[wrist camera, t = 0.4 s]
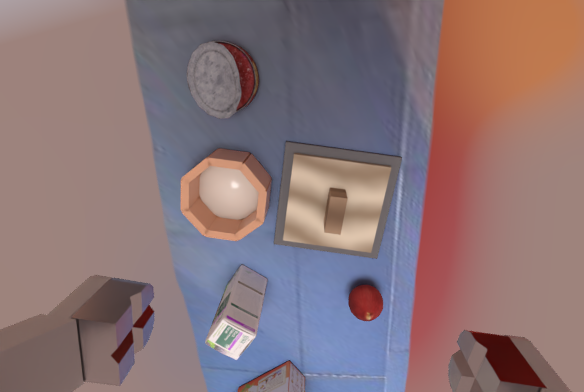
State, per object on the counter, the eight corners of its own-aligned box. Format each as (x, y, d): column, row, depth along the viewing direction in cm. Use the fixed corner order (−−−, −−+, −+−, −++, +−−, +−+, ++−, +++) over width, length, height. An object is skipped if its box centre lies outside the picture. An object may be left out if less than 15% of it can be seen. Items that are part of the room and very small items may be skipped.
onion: (377, 302, 62) (386, 334, 55) (346, 302, 62) (350, 333, 55) (379, 275, 60) (389, 305, 53) (347, 275, 60) (351, 304, 53)
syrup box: (241, 262, 61) (220, 318, 47) (269, 278, 62) (256, 337, 48) (226, 284, 63) (202, 343, 49) (253, 299, 64) (237, 362, 50)
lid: (294, 152, 53) (292, 160, 48) (390, 165, 52) (397, 175, 48) (283, 237, 58) (280, 252, 53) (370, 249, 58) (375, 265, 53)
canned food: (246, 108, 56) (223, 145, 49) (192, 70, 53) (161, 104, 47) (281, 56, 48) (259, 92, 41) (219, 9, 45) (185, 39, 39)
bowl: (195, 144, 54) (181, 153, 48) (274, 155, 54) (269, 166, 48) (193, 217, 58) (180, 233, 53) (266, 227, 58) (261, 244, 53)
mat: (286, 141, 53) (285, 141, 52) (401, 156, 52) (402, 157, 52) (274, 242, 59) (273, 243, 58) (376, 256, 59) (377, 258, 58)
